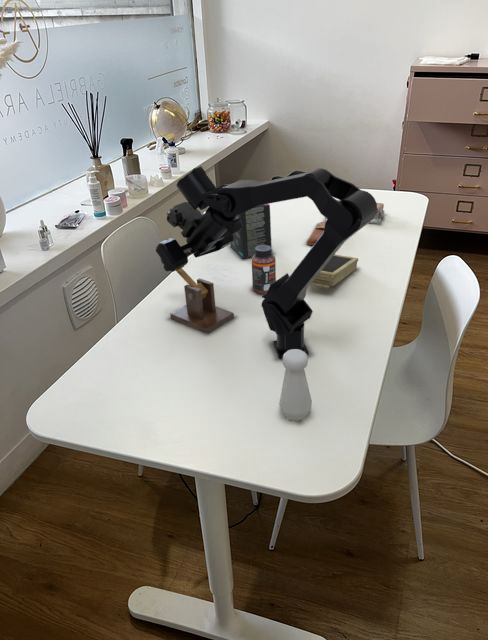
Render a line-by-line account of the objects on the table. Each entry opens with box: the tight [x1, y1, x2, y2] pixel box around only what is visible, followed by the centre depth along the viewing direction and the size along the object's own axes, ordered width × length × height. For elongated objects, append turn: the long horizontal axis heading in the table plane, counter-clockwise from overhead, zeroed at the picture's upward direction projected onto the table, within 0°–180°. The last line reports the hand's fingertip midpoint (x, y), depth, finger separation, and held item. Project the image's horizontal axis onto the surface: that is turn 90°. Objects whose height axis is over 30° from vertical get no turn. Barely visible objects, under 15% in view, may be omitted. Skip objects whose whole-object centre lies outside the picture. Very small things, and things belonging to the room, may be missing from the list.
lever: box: [160, 258, 208, 299], centre depth 129 cm, size 14×4×4 cm
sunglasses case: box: [306, 219, 326, 246], centre depth 172 cm, size 18×7×7 cm, turn 165°
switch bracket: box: [169, 278, 235, 335], centre depth 129 cm, size 12×9×9 cm
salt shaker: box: [278, 349, 313, 422], centre depth 98 cm, size 6×6×13 cm
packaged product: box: [324, 199, 385, 225], centre depth 184 cm, size 18×5×10 cm
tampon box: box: [229, 204, 273, 259], centre depth 161 cm, size 11×9×15 cm
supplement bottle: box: [251, 245, 277, 295], centre depth 140 cm, size 6×6×11 cm
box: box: [309, 253, 359, 289], centre depth 147 cm, size 8×22×5 cm, turn 155°
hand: (180, 262), depth 128 cm, fingers open, 9 cm apart
